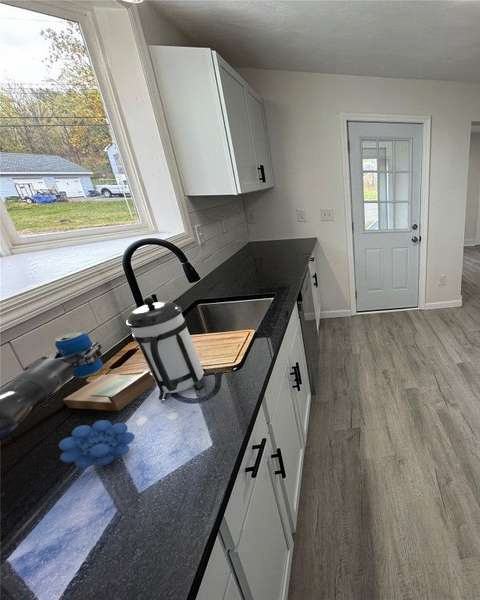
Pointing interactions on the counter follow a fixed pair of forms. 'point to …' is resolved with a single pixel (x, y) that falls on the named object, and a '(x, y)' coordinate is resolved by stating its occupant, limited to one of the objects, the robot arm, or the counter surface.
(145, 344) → the coffee press
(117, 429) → the blue lobed cluster
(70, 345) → the beverage can
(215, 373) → the counter surface
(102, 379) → the shallow wooden tray
